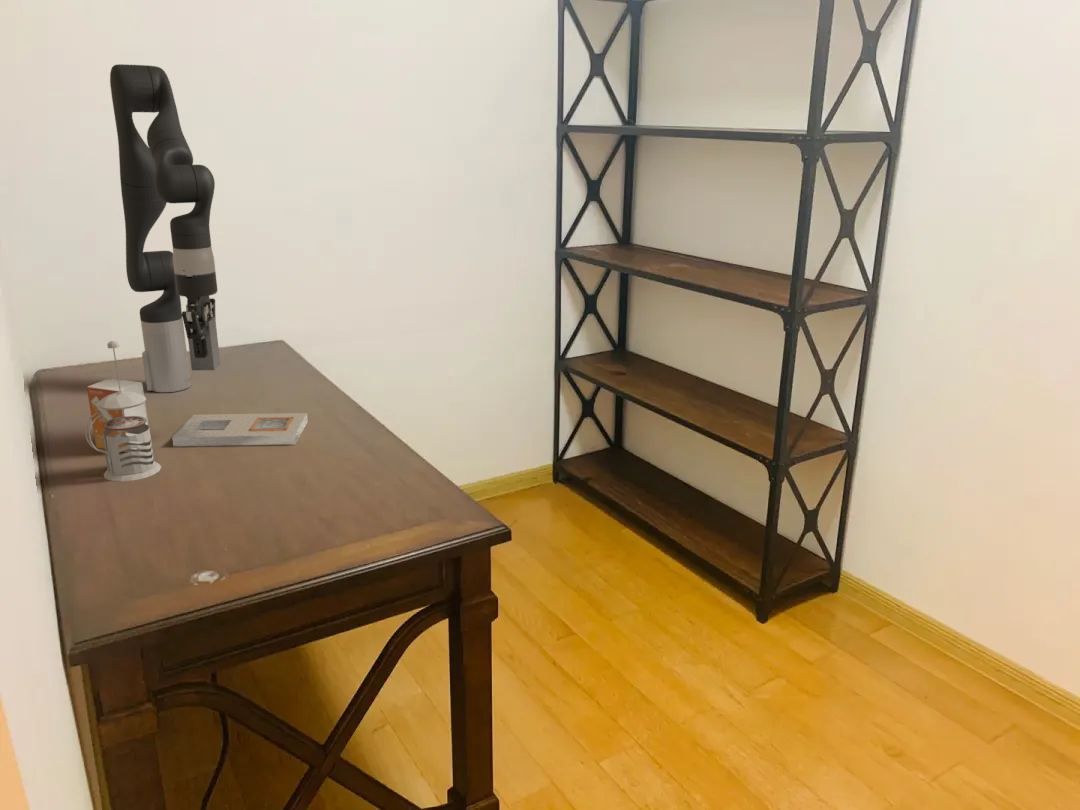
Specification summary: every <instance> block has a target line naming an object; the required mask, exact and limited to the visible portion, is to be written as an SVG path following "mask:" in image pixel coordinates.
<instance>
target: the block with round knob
mask: <svg viewBox="0 0 1080 810" xmlns="http://www.w3.org/2000/svg"><path fill="white" fill-rule="evenodd" d="M215 317H216V316H215ZM215 317H212V318H209V316H208V318H207V322H206V325H207V326H206V328H204V330H205V343H206V352H207V356H206V357H205V358H196V357H195V355H194V347H193V340H191V339H188V338H187V341H188V342H187V344H188V350H189V356H190V357H189V359H190V365H191V371H215V370H216V369H217V368H218V367H219V366H220V365H221V357H220V349H219V340H218V331H217V330H218V329H217V321H216V320H215ZM202 322H203V321H202ZM202 322H199V324H201V323H202ZM194 331H195V333H197V332H196V329H194Z"/></svg>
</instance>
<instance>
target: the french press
mask: <svg viewBox="0 0 1080 810" xmlns="http://www.w3.org/2000/svg"><path fill="white" fill-rule="evenodd" d="M107 348H108V349H112V351H113V357H114V364H115V369H116V376H117V378H116V379H117V380H118V384H119V390H120V392H117V393H113V394H111V395H108V396H106V397H104V398H103V399H101V400H100V401H99V402H98V403H97V405H98V407H99V408H101V409H104V410H123V417H119V418H118V417H117V418H114V419H111V420H109V421H107V422H105V424H104V425H103V426H104V427H105V428H106V430H104V432H103V437H104V443H105V449H101V448H96V445H95V444H94V443H93V441H92V436H91V431H92V428H93V423H94V422H95V420H96V419H97V418H99V417H100V420H101V421H104V416H103V415H100V413H95V414H94V415H93V416H91V415H90V416H91V417H90V418H88V420H87V422H86V424H85V427H84V428H85V429H84V433H85V439H86V440H87V444H89V446H90V447H91V448H93V449H94V450H95V451H97V452H100V453H102V454H104V456H105V461H106V467H107V469H106V471H105V472H104V473H103V477H104V479H106V480H108V481H110V482H133V481H138V480H142V479H146V478H149V477H151V476H154V475H156V473H159V472H160V470H161V469H162V466H161V464H160V463H159V462H156V460H155V458H154V452H153V443H152V436H151V429H150V426H149V424H148V425H146V424H145V423H146V421H147V420H148V419H147V420H146V418H144V417H141V416H127V417H126V416H125V415H124V409H128V408H133V407H136V406H139V405H142V404H144V402H145V403H146V401H147V397H146V396H145V395H144V396H143V395H140V394H138V393H134V392H121V389H120V383H119V380H120V376H119V372H118V365H117V357H116V353H115V349H117V348H120V343H119V342H118V341H117V340H110V341H109V342H108V343H107ZM96 414H99V416H98V417H96V418H95V419H94V420H93V422H92V417H94V416H95V415H96ZM101 416H102V418H103V420H102V419H101ZM90 421H91V424H90V426H89V423H90ZM88 427H89V430H88ZM114 431H122V432H126V433H131V434H138V435H134V436H125V435H121V434H117V435H113V436H111V437H108V435H109V434H110V433H112V432H114ZM87 432H88V433H87ZM129 442H143V443H140V444H136V443H129ZM120 444H124V445H128V446H125V447H118V445H120ZM132 448H138V449H132ZM121 451H128V453H126V452H122V453H121Z"/></svg>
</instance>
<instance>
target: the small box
mask: <svg viewBox="0 0 1080 810" xmlns="http://www.w3.org/2000/svg"><path fill="white" fill-rule="evenodd" d="M119 383H120V389H121V392H134V393H138V394H140V395H143V396H145V393H144V387H143V386H144V385H143V382H141V381H140V382H139V381H132V380H127V379H119ZM86 391H87V392H86V393H87V397H88V398H87V399H88V403H89V404H88V405H89V410H90V416H93V415H94V414H95V413H100V415H103V416H104V421H101V420H100V417H99V418H97V419H96V420H95V422H94V423H93V425H92V428H93V430H92V431H93V435H94V442H95V443H94V444H95V447H96V448H97V449H103V450H106V449H105V443H104V437H103V432H104V430H106V428H105V427H104V426H103V425H104V424H105V422H107V421H109V420H111V419H114V418H117V417H118V418H119V417H123V410H104V409H101V408H99V407H98V405H97V403H98V402H99V401H100V400H101V399H103V398H104V397H106V396H108V395H111V394H113V393H117V392H120V390H119V384H118V378H116V379H115V378H107V379H104V380H101V381H99V382H95V383H92V384H91V385H88V386H86ZM124 415H125V416H126V417H127V416H141V417H144V418H146V420H147V421H146V423H145V424H146V425H148V426H149V421H148V420H149V419H148V415H147V407H146V401H145V402H144V404H142V405H139V406H136V407H133V408H128V409H124ZM98 416H99V414H96V415H95V416H94V417H92V419H91V423H92V422H93V420H94V419H95V418H96V417H98ZM101 419H102V420H103V418H102V416H101ZM117 434H121V435H125V436H134V435H138V434H131V433H126V432H122V431H114V432H112V433H110V434H109V435H108V437H111V436H113V435H117ZM129 443H136V444H140V443H143V442H129ZM125 446H128V445H124V444H120V445H118V447H125ZM132 449H136V450H139V448H132ZM121 452H122V453H128V451H121ZM121 452H120V453H121Z"/></svg>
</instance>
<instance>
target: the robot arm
mask: <svg viewBox="0 0 1080 810" xmlns="http://www.w3.org/2000/svg"><path fill="white" fill-rule="evenodd" d="M109 77H110V78H109V85H110V93H111V100H112V106H113V107H112V108H113V113H114V114H113V115H114V121H115V126H116V135H117V142H118V158H119V177H120V178H119V179H120V189H121V199H122V207H123V215H124V224H125V225H124V226H125V265H126V266H125V267H126V277H127V282H128V285H129V287H130V289H132V291H133V292H136V293H146V292H147V293H149V292H151V293H152V292H157V291H158V292H161V291H162V294H161V295H160V296H159V297H157V299H155V300H154V301H152V302H150V303H148V304H146V305H144V306H142V307H141V308H140V309H139V319H140V324H141V326H140V327H141V332H142V339H143V345H144V346H143V347H144V351H143V352H142V355H141V357H142V364H143V369H144V371H143V372H144V377H145V384H146V391H149V392H150V391H152V392H155V393H173V392H180V391H183V390H186V389H188V388H190V387H191V385H192V383H191V375H190V367H189V359H188V358H189V357H188V351H187V350H188V349H187V343H186V342H187V341H186V337H187V340H188V339H191V340H193V347H194V355H195V357H196V358H205V357H206V356H207V352H206V343H205V330H204V328H206V326H207V325H206V322H207V318H208V317H209V318H212V317H215V320H216V318H217V317H216V300H215V298H210V296H213V295H216V294H217V293H218V281H217V272H216V263H215V258H214V257H215V256H214V252H213V247H212V239H211V231H210V230H211V229H210V218H211V217H210V216H211V211H212V210H211V209H212V203H213V199H214V194H215V187H216V186H215V184H216V183H215V179H214V175H213V173H212V172H211V170H210V169H209V168H208V167H207V166H206V165H203V164H193V163H194V156H193V153H192V150H191V148H190V147H189V143H188V142H187V140H186V138H185V135H184V133H183V130H182V127H181V123H180V117H179V114H178V107H177V104H176V100H175V96H174V93H173V88H172V86H171V85H172V84H171V82H170V79H169V77H168V75H167V73H166V72H165V70H164V69H163V68H162V67H159V66H155V65H147V64H146V65H145V64H143V65H142V64H115V65H112V67H111V69H110V73H109ZM133 113H153V114H154V113H157V115H156V116H155V117H154V119H153V120H152V122H151V123H150V125H149V127H148V129H147V132H146V133H147V135H146V142H145V141H144V139H143V138H142V136H141V134H140V132H139V131H138V129H137V127H136V125H135V123H134V119H133ZM190 203H192V204H193V203H194V206H193V209H192V210H191V211H190V212H188V213H186V214H180V215H177V216H174V217H173V218H171V220H170V223H169V226H170V227H169V228H170V237H171V243H172V244H171V245H172V251H170V250H153V251H144V248H145V245H146V241H147V238H148V235H149V233H150V232H151V230H152V228H153V226H154V225H155V224H156V222H157V221H158V220H159V218H160V216H161V215H162V213H163V212H164V210H165V208H166V206H167V204H190ZM181 297H185V298H186V299H187V300H186V304H185V311H183V309H182V303H181V302H182V301H181ZM202 321H203V322H202ZM199 322H202V323H201V324H199ZM194 329H196V332H197V333H195V331H194ZM185 333H186V335H185Z"/></svg>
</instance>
